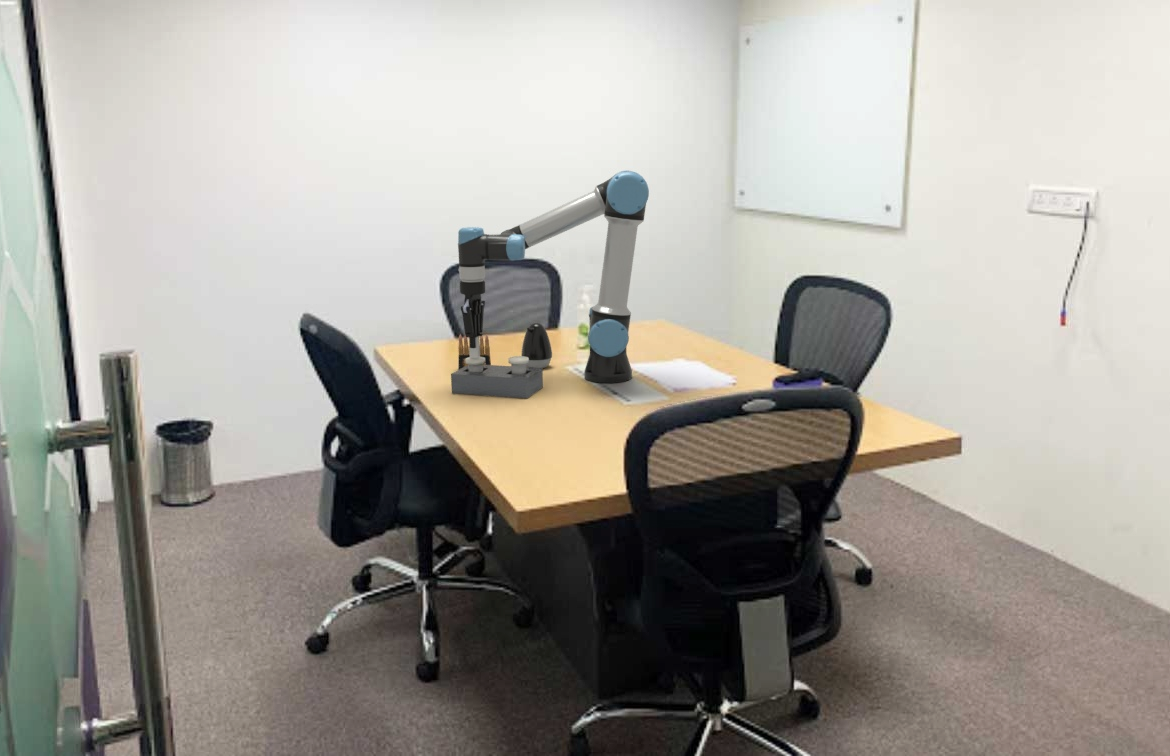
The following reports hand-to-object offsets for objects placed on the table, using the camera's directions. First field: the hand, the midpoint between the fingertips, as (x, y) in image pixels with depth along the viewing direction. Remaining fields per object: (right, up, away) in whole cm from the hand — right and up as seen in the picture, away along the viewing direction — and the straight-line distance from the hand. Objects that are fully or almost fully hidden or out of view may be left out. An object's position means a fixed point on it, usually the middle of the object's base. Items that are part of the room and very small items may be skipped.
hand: (474, 357), depth 284 cm
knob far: (0, -7, +2) cm, 7 cm away
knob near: (+14, -7, -2) cm, 16 cm away
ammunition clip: (-3, -3, +28) cm, 28 cm away
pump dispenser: (+17, -3, +30) cm, 35 cm away
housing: (+7, -10, 0) cm, 12 cm away
